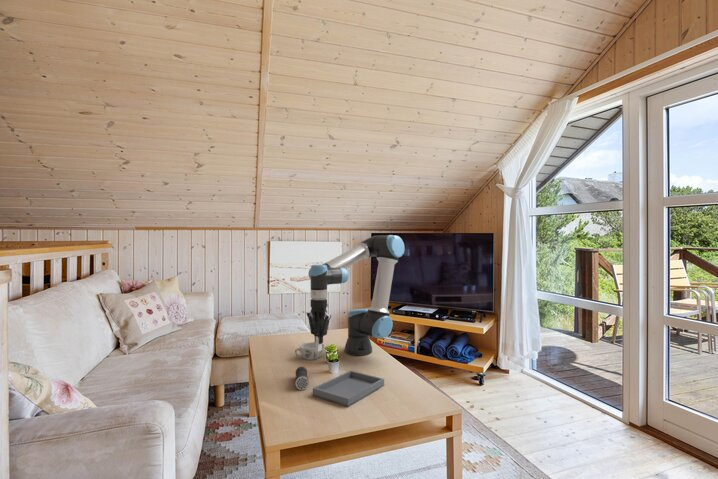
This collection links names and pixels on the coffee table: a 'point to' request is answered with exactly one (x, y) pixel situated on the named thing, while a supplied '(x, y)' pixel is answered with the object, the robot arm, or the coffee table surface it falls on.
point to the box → (348, 388)
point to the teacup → (309, 351)
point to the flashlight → (300, 374)
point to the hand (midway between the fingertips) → (318, 350)
